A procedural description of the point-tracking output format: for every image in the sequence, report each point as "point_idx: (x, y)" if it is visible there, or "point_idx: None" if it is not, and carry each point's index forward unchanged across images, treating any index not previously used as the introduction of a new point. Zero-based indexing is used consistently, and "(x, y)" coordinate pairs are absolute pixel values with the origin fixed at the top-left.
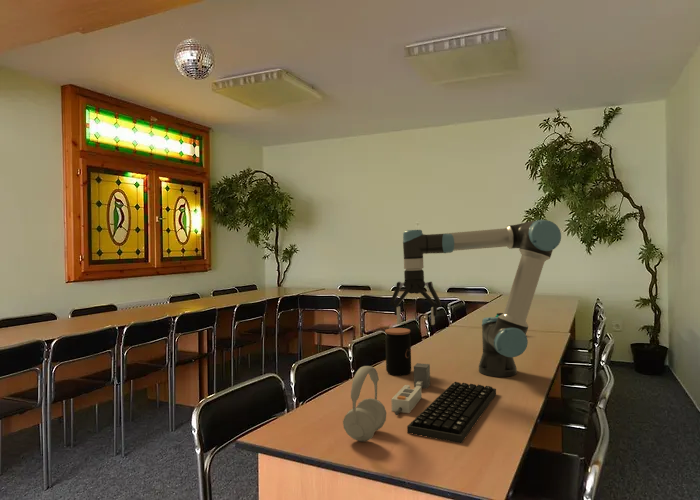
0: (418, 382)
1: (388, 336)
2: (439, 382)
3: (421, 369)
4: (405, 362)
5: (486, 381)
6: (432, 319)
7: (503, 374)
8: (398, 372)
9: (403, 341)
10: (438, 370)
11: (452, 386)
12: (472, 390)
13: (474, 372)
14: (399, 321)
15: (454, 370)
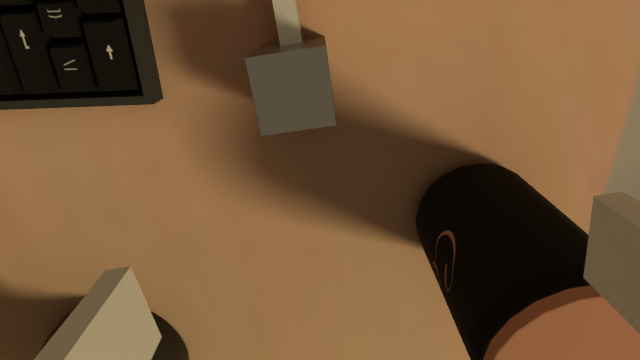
0: (288, 12)
1: None
2: (252, 155)
3: (278, 51)
4: (441, 212)
5: (98, 243)
6: (74, 323)
7: (67, 316)
8: (458, 169)
9: (493, 278)
10: (322, 295)
11: (95, 6)
12: (2, 14)
13: (190, 321)
14: (611, 240)
15: (266, 316)
